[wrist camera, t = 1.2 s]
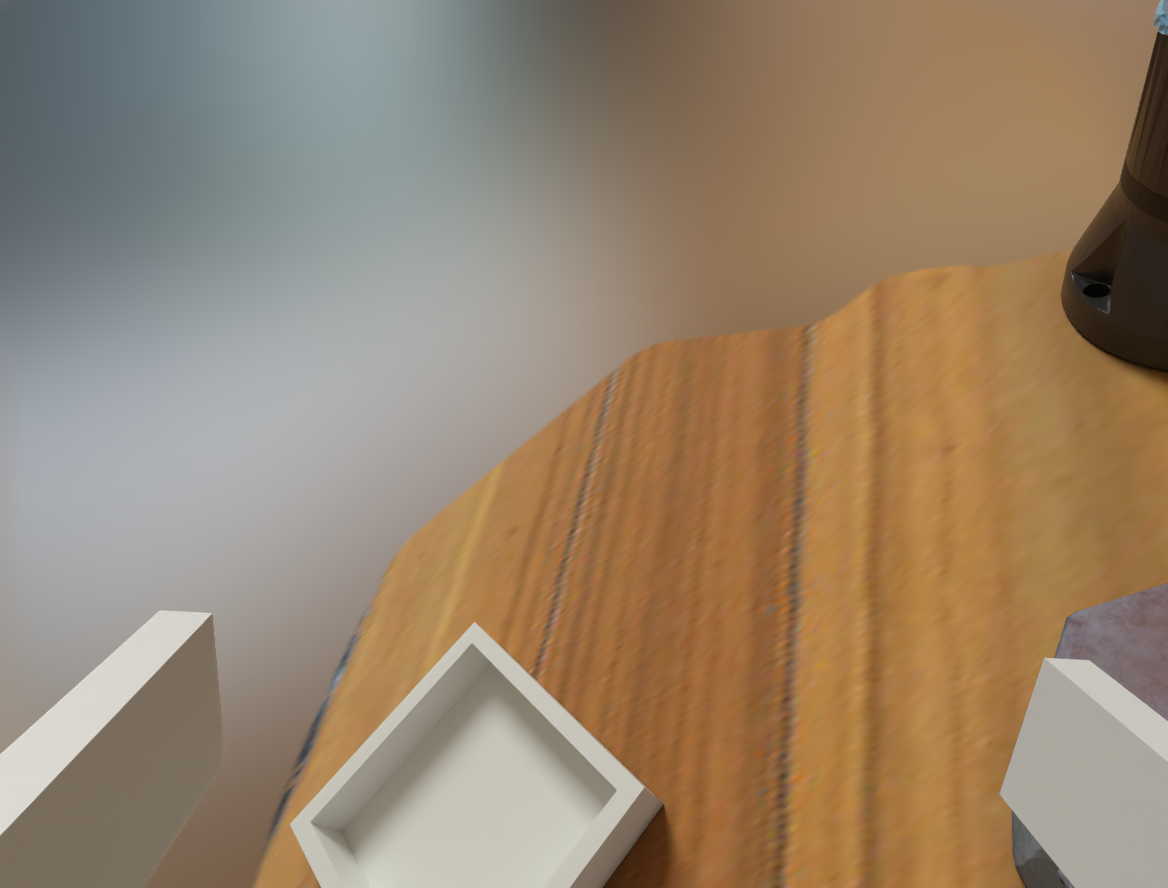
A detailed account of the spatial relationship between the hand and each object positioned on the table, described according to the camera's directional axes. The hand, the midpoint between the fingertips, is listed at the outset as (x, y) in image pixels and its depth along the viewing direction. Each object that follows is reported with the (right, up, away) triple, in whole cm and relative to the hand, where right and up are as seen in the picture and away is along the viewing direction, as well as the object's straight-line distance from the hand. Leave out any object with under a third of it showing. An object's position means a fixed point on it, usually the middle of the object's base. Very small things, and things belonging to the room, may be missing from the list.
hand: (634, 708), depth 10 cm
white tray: (-6, -17, +27) cm, 32 cm away
